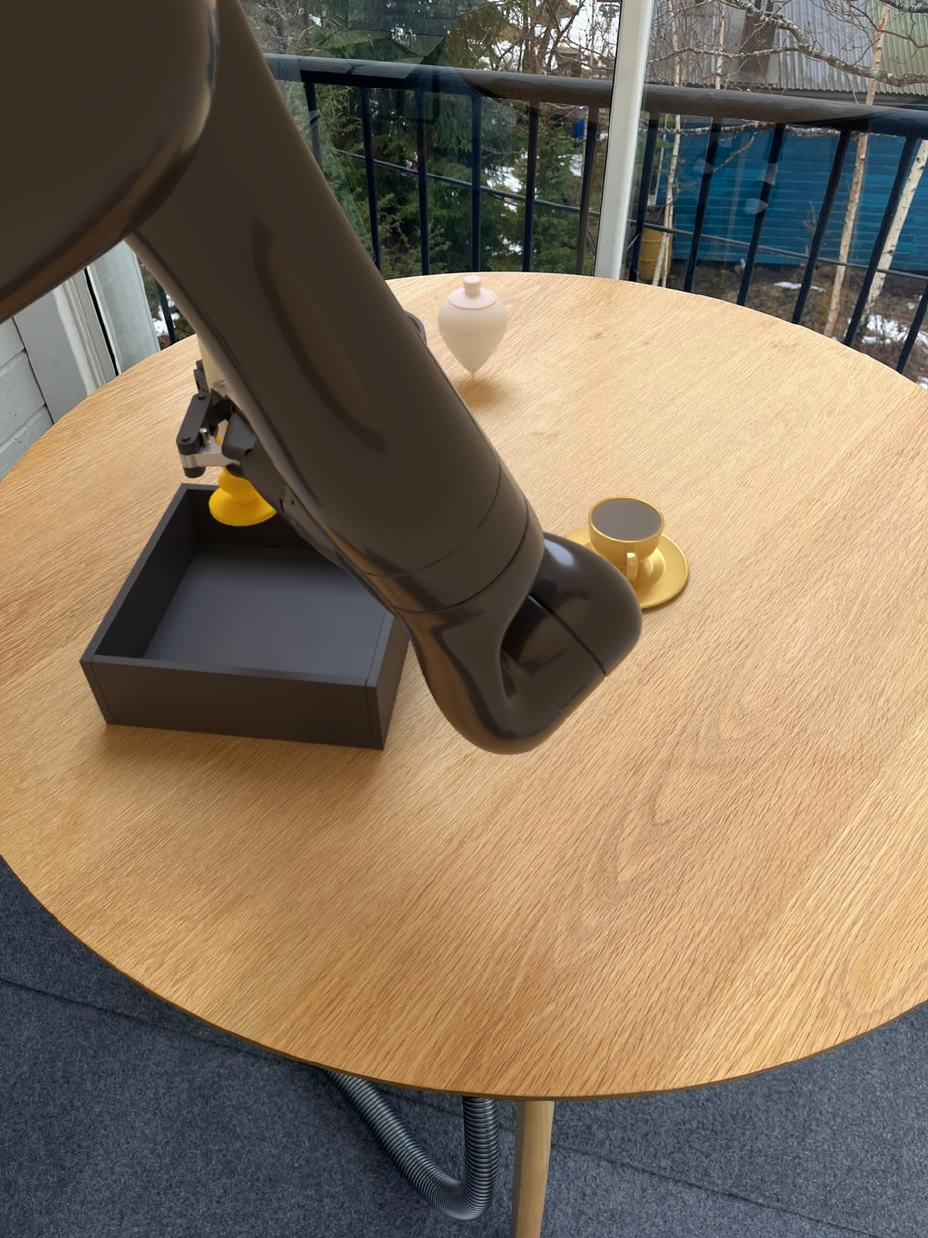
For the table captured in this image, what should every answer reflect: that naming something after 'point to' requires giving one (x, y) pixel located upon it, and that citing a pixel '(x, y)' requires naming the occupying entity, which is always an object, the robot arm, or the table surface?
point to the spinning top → (472, 324)
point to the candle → (235, 494)
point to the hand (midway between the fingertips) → (208, 369)
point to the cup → (636, 547)
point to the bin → (245, 636)
